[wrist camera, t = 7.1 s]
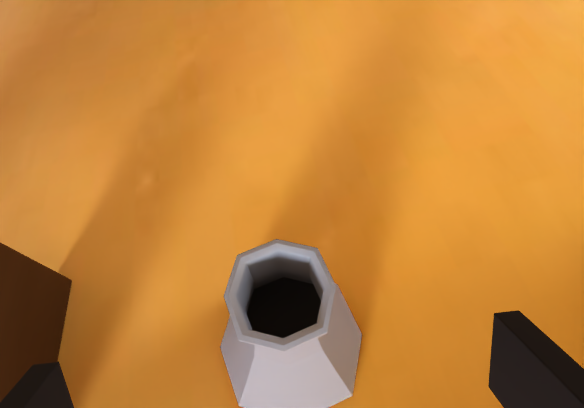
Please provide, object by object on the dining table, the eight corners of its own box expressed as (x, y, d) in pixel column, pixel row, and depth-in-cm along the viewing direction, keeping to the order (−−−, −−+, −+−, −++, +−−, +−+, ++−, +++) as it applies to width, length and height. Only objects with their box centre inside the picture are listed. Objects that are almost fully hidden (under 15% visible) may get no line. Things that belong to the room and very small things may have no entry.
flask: (221, 279, 21) (161, 190, 12) (350, 267, 21) (383, 172, 12) (220, 429, 18) (137, 455, 9) (373, 415, 18) (440, 427, 9)
